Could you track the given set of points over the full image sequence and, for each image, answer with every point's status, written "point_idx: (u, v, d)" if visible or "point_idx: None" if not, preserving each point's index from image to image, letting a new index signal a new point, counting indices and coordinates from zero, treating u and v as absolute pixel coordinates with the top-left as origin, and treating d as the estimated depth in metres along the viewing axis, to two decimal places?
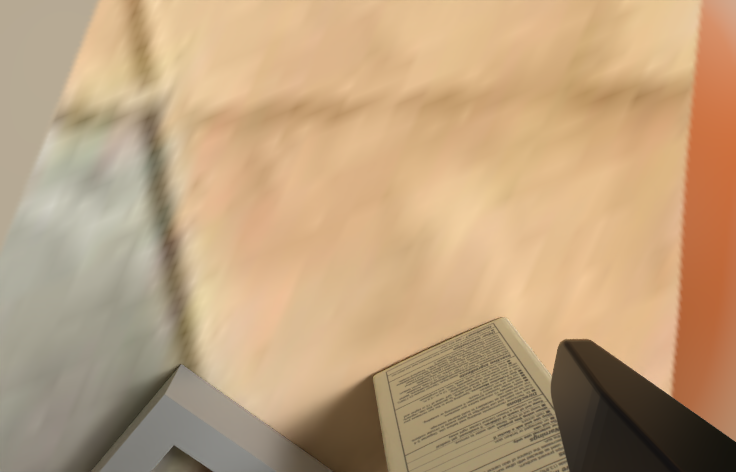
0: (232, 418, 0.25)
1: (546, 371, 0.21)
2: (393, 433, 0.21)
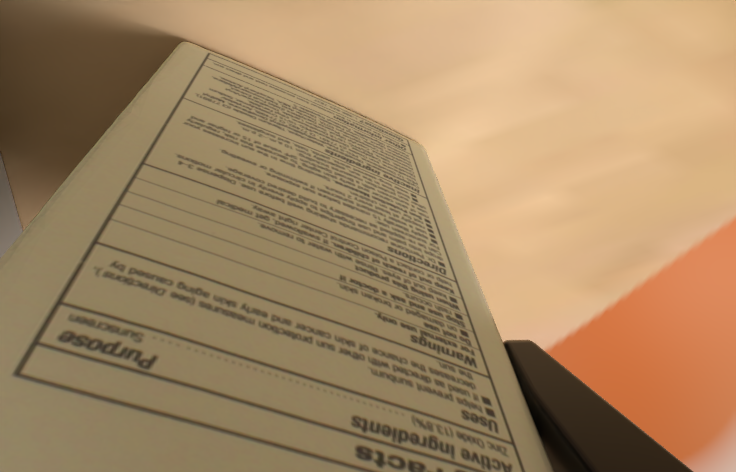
0: None
1: (467, 256, 0.11)
2: (151, 118, 0.10)
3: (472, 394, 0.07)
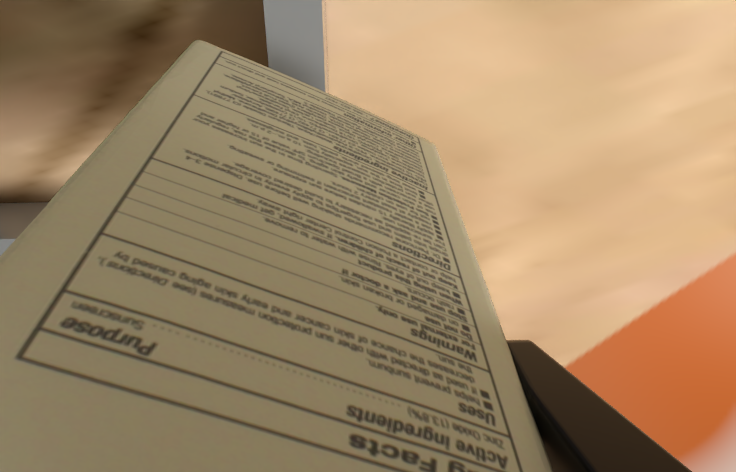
0: None
1: (473, 253, 0.11)
2: (161, 114, 0.10)
3: (471, 387, 0.07)
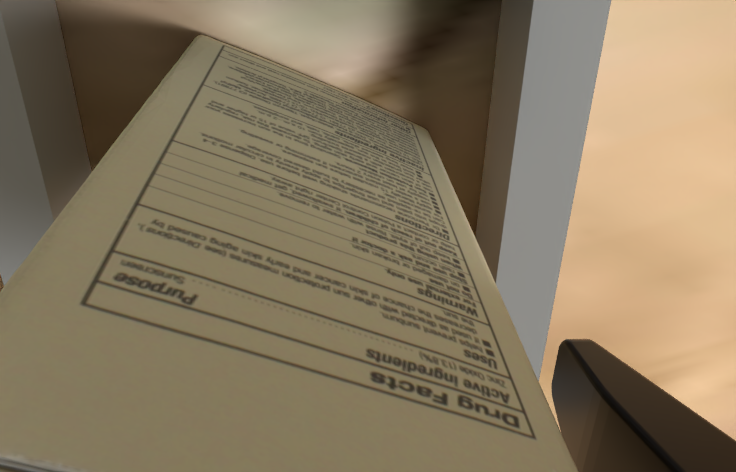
0: None
1: (469, 226, 0.12)
2: (176, 102, 0.10)
3: (473, 337, 0.08)
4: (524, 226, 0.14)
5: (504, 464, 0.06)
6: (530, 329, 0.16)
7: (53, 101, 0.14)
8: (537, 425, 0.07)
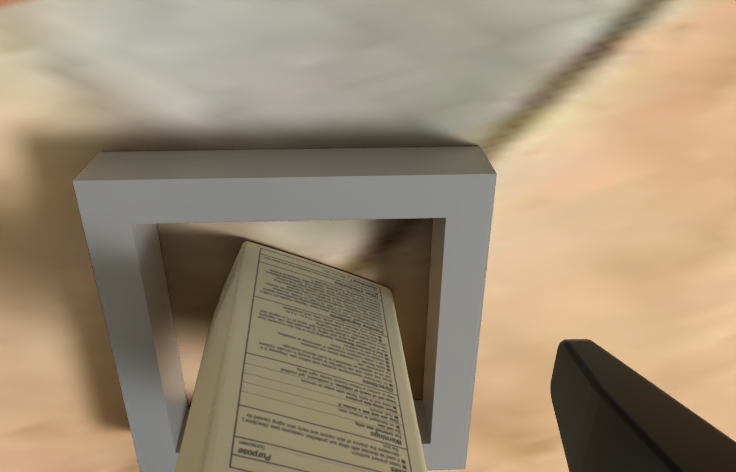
0: None
1: (407, 375, 0.20)
2: (243, 318, 0.19)
3: (397, 459, 0.17)
4: (449, 357, 0.23)
5: None
6: (459, 416, 0.25)
7: (156, 287, 0.23)
8: None
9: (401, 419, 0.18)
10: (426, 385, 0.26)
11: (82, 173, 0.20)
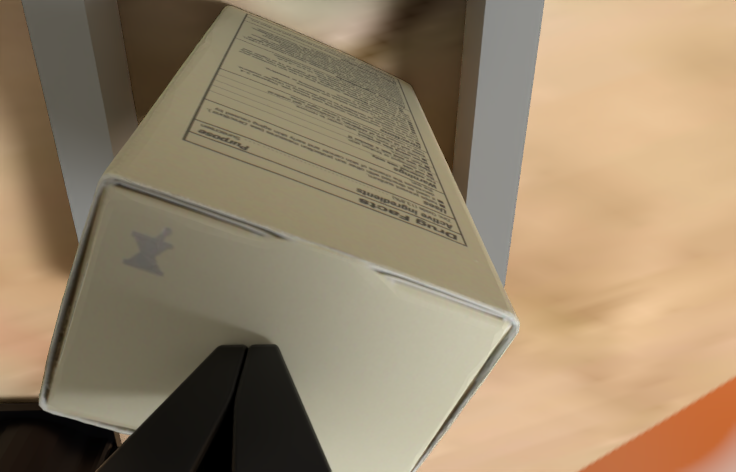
0: None
1: (438, 145, 0.15)
2: (218, 47, 0.14)
3: (431, 197, 0.12)
4: (487, 158, 0.18)
5: (443, 250, 0.10)
6: (495, 247, 0.20)
7: (112, 57, 0.18)
8: (469, 241, 0.11)
9: (434, 170, 0.13)
10: None
11: None
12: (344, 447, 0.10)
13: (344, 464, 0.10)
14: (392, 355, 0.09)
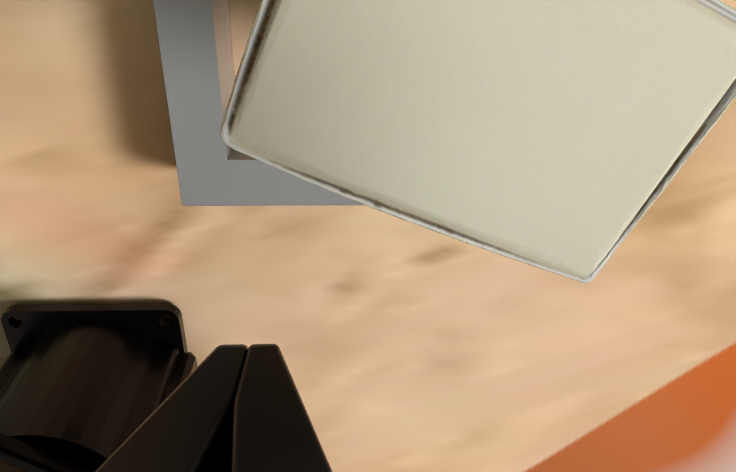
0: None
1: None
2: None
3: None
4: None
5: None
6: None
7: None
8: None
9: None
10: None
11: None
12: (548, 207, 0.09)
13: (543, 232, 0.09)
14: (627, 75, 0.08)
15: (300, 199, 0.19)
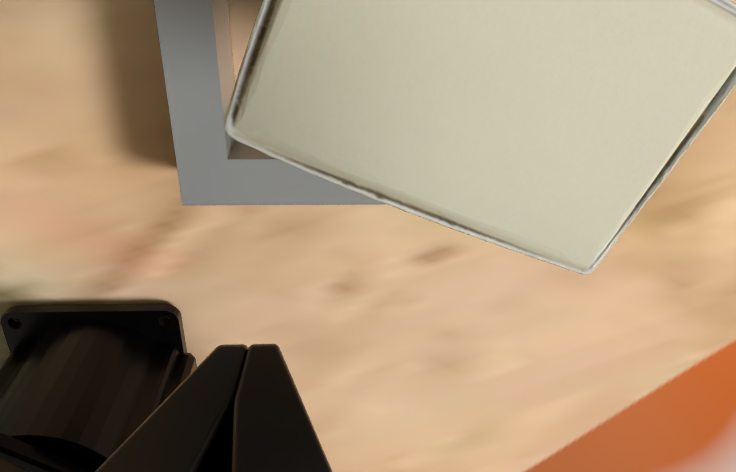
0: None
1: None
2: None
3: None
4: None
5: None
6: None
7: None
8: None
9: None
10: None
11: None
12: (549, 198, 0.09)
13: (544, 223, 0.09)
14: (627, 66, 0.08)
15: (300, 198, 0.19)
